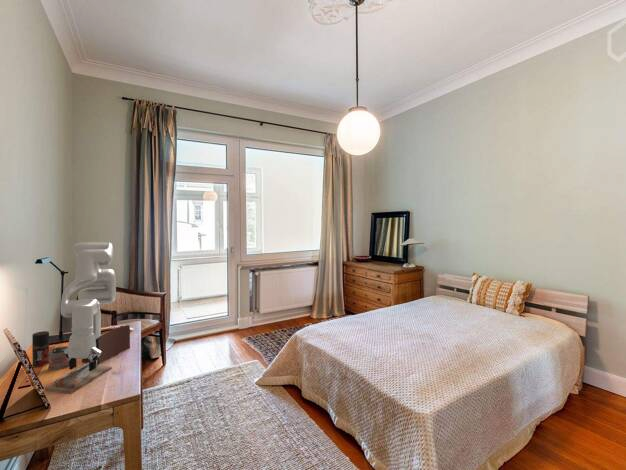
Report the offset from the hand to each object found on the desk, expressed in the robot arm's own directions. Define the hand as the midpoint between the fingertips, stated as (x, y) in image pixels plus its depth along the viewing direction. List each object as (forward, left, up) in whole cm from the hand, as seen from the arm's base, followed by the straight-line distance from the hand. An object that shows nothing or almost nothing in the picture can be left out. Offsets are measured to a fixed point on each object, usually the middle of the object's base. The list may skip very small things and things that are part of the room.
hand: (82, 369), depth 135 cm
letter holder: (-21, +11, -4) cm, 24 cm away
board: (+2, -1, -3) cm, 4 cm away
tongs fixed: (+1, -1, -2) cm, 3 cm away
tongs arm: (+4, +1, -2) cm, 5 cm away
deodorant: (-26, -15, -4) cm, 30 cm away
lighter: (-17, -8, -4) cm, 19 cm away
